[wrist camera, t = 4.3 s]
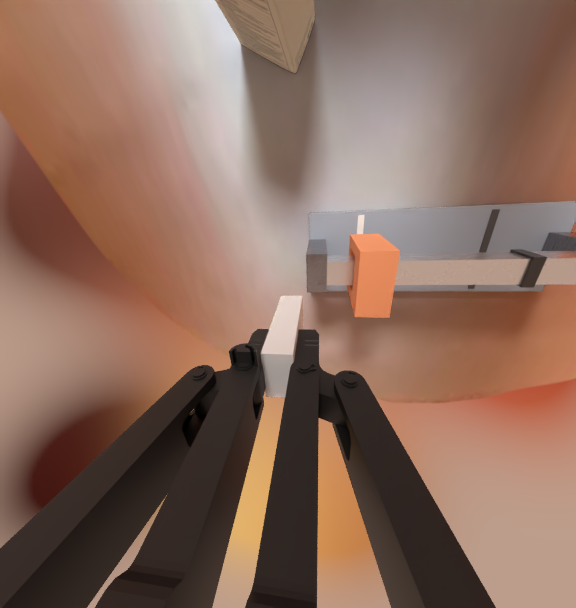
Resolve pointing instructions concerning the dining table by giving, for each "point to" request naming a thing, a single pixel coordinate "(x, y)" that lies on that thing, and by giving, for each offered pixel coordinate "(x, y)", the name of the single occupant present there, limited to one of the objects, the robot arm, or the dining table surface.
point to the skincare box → (272, 27)
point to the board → (448, 232)
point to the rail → (457, 266)
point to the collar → (372, 275)
